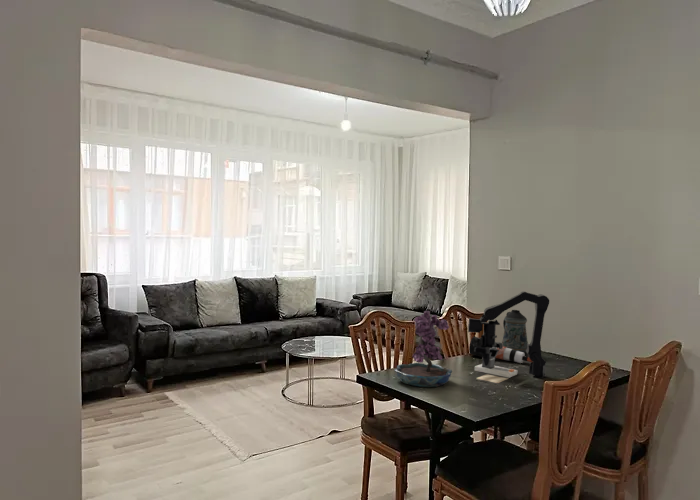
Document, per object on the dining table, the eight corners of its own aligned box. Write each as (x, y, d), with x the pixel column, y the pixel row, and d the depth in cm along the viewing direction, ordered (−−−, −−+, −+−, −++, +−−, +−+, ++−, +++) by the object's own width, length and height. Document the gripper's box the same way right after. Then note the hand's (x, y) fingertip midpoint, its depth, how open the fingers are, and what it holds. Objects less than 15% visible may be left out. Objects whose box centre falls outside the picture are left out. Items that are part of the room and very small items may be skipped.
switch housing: (517, 376, 258) (517, 368, 258) (509, 379, 251) (509, 371, 251) (483, 369, 270) (483, 362, 270) (474, 372, 263) (474, 365, 263)
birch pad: (508, 380, 249) (508, 378, 249) (497, 385, 241) (497, 383, 241) (486, 376, 257) (486, 374, 257) (475, 380, 248) (475, 378, 248)
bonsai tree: (433, 394, 225) (436, 317, 224) (380, 382, 241) (382, 310, 240) (469, 378, 252) (472, 309, 251) (419, 368, 269) (421, 303, 268)
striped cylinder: (529, 373, 282) (529, 358, 277) (469, 357, 300) (468, 343, 296) (535, 362, 289) (535, 347, 284) (476, 347, 307) (475, 333, 303)
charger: (494, 370, 263) (494, 356, 263) (490, 372, 260) (490, 358, 260) (486, 369, 266) (486, 355, 266) (481, 370, 263) (482, 356, 263)
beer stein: (519, 358, 298) (520, 313, 297) (489, 351, 313) (491, 309, 312) (535, 354, 308) (536, 311, 308) (506, 348, 323) (507, 307, 323)
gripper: (483, 328, 275) (482, 359, 275) (465, 333, 261) (464, 365, 261) (503, 331, 268) (502, 362, 268) (486, 336, 254) (485, 369, 254)
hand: (488, 364), depth 263 cm, fingers closed on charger, 4 cm apart
